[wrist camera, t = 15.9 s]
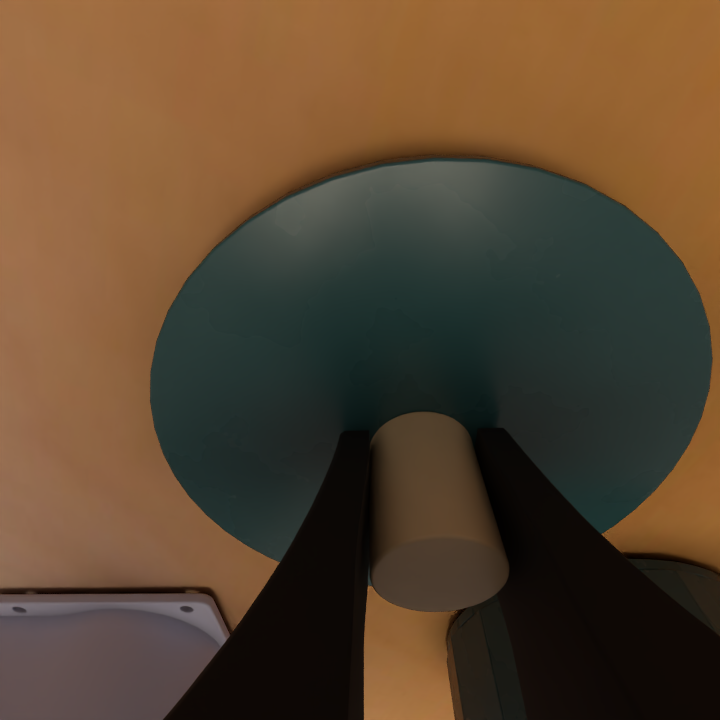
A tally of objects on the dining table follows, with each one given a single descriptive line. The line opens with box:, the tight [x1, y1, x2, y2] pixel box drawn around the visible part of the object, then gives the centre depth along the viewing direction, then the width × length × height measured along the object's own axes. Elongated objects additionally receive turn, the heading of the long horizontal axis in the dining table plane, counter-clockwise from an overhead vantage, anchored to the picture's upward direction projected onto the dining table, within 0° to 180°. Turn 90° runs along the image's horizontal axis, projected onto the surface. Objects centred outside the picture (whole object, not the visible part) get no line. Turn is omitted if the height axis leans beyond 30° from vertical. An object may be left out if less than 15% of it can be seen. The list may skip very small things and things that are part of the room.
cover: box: [150, 155, 713, 612], centre depth 9 cm, size 13×13×4 cm
